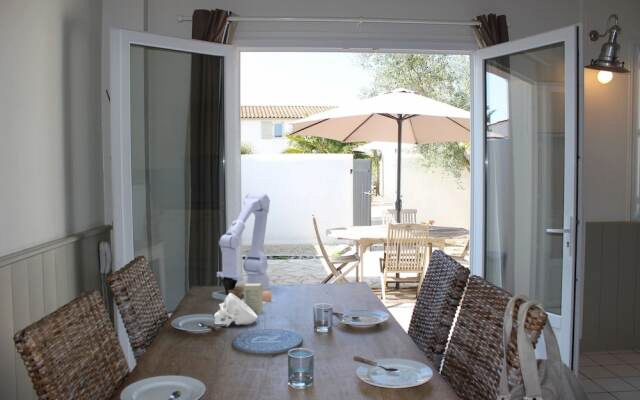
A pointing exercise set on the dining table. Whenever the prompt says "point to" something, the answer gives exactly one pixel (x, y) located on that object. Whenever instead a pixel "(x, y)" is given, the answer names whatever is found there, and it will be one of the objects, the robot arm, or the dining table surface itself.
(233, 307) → the skull bowl
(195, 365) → the dining table surface
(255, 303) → the skincare box
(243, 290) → the beech block
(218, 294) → the slate board with cubby
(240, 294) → the walnut block
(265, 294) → the peach rounded cylinder
